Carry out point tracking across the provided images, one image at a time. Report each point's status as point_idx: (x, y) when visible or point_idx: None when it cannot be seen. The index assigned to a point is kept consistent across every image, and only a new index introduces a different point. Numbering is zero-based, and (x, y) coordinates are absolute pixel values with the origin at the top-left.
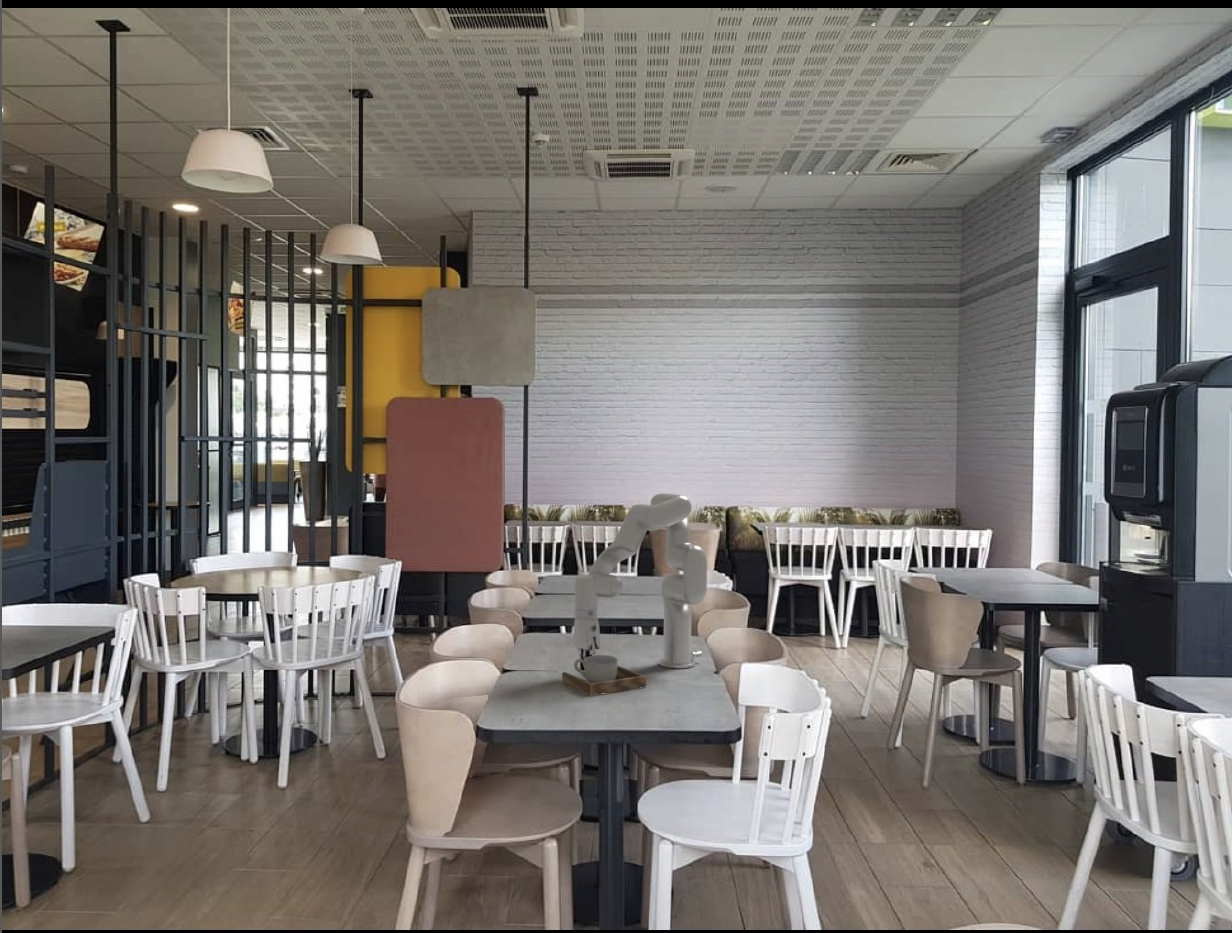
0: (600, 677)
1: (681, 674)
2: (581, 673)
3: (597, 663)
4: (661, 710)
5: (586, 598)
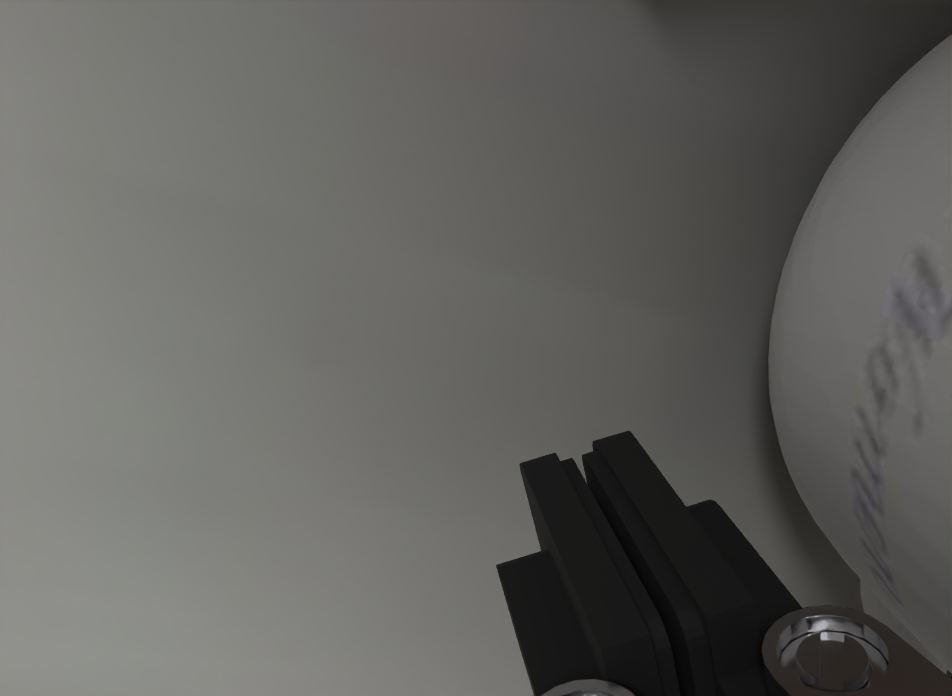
0: None
1: None
2: None
3: (927, 388)
4: None
5: None
